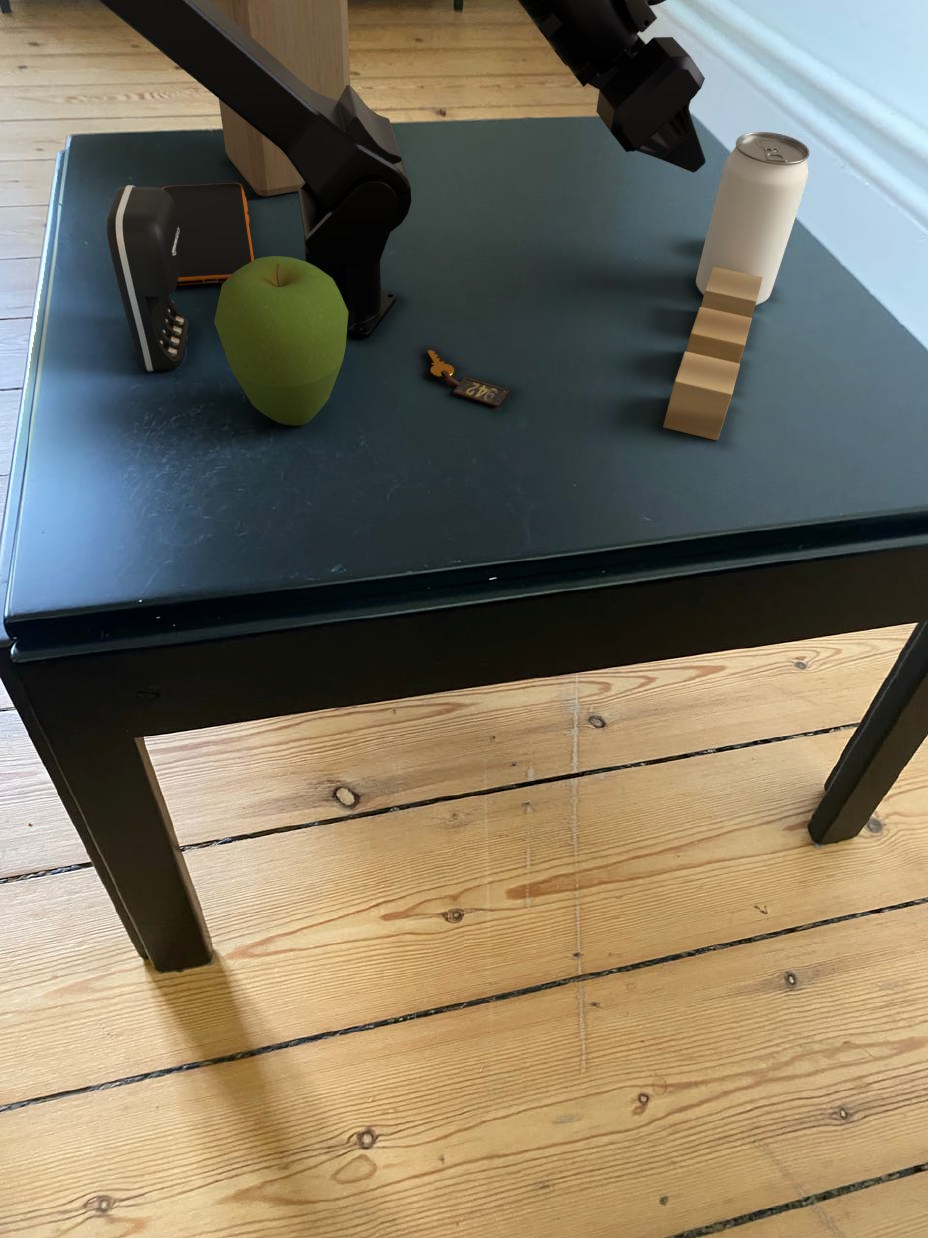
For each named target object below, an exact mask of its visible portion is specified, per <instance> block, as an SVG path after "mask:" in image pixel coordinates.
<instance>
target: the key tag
mask: <svg viewBox="0 0 928 1238" xmlns="http://www.w3.org/2000/svg"><path fill="white" fill-rule="evenodd" d="M427 356H428V357H429V359H430V360H431V362H432V363H431V364H430V366H431V368H430V370H429V372H430V374H431V375H432V376H433V377H435V378H437V379H439V378H440V379H443V380H444V381H445V382H446V383H447V384H448V385H450V386H453V387H456V388H454V390H453V391H452V393H453V394H454V395H458V396H461V397H464V398H467V399H469V400H473V401H477V402H479V403H483V404H487V405H489V406H492V407H496V408H499V407H500V405H501V404H502V403H503V401H504V400H505V399H506V397H507V396H508V395H509V393H510V389H506V388H503V387H500V386H497V385H494V384H491V383H488V382H485V381H483V380H479V379H475V378H472V377H467V376H464V377H463V378H462V379H461V381H458V380H457V379H456V378H454V377H453V375H455V367H454V366H452V365H450V364H449V363H445V361H441V358H439V355H438V354H436V352H435V351H434V350H431V349H428V351H427Z"/></svg>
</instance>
